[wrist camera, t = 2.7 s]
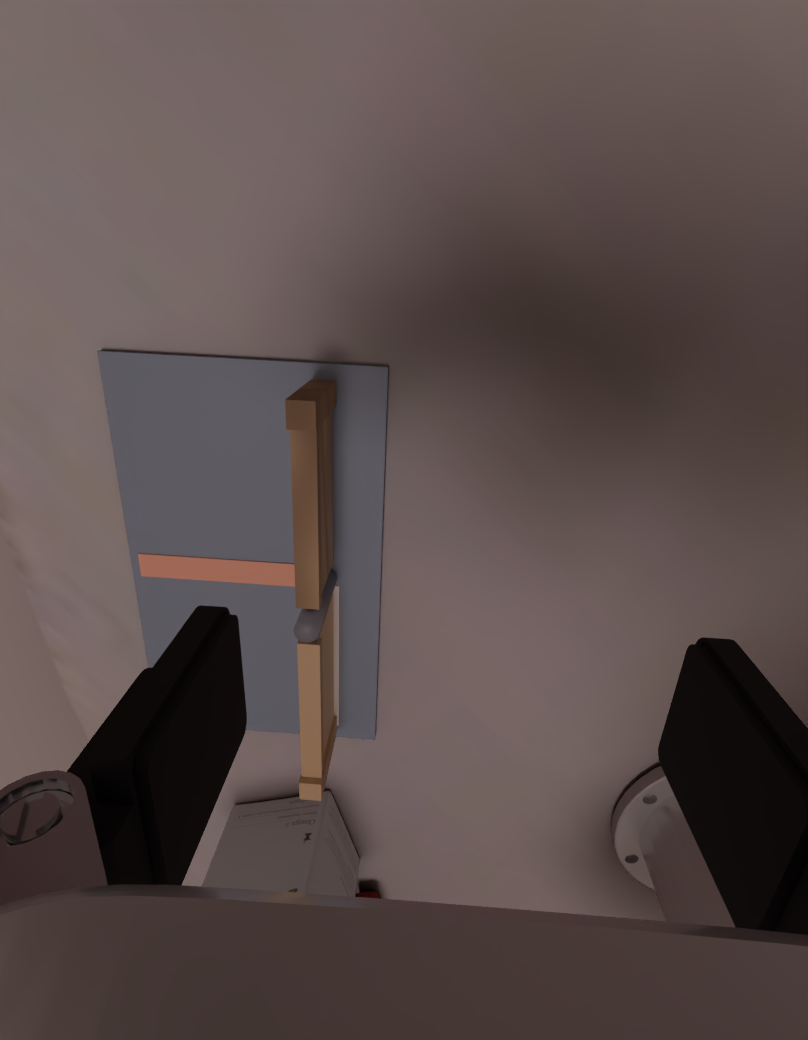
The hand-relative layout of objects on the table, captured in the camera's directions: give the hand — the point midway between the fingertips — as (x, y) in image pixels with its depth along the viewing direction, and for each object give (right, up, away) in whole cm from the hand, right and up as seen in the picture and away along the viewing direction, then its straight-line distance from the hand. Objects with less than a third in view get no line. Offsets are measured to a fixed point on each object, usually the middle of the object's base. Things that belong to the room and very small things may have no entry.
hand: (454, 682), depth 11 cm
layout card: (-9, 0, +20) cm, 22 cm away
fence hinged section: (-5, +5, +17) cm, 19 cm away
